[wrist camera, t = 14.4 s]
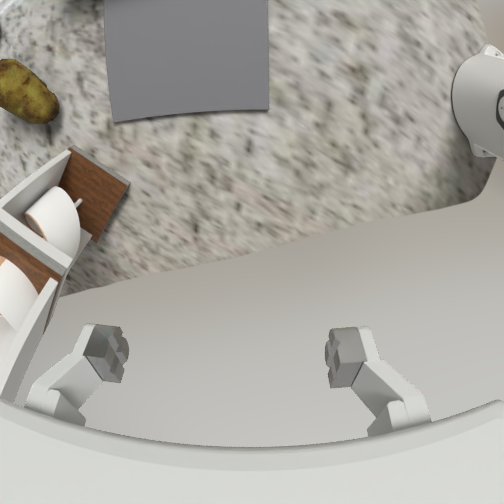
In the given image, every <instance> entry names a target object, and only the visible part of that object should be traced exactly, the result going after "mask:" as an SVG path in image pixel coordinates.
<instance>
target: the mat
mask: <svg viewBox="0 0 504 504" xmlns="http://www.w3.org/2000/svg"><path fill="white" fill-rule="evenodd" d="M104 32H105V49H106V63H107V74H108V84H109V93H110V101H111V109H112V116H113V123H114V122H120V121H126V120H132V119H139V118H146V117H153V116H162V115H170V114H180V113H191V112H205V111H222V110H252V109H269V40H268V0H104Z"/></svg>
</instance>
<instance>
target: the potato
mask: <svg viewBox="0 0 504 504" xmlns="http://www.w3.org/2000/svg"><path fill="white" fill-rule="evenodd" d="M0 107H2V108H4V109H5V110H7V111H9V112H11V113H13V114H15V115H17V116H18V117H20V118H22V119H24V120H26V121H29V122H32V123H36V124H46V123H48V122H49V121H51V120H53V119H54V118H55V117H56V116H57V114H58V113H59V104H58V100H57V97H56V96H55V94H54V93H51V92H50V91H49V90H48V89H47V85H46V84H45V83H44V82H43V81H41V80H40V79H39V78H38V77H37V76H36V75H35V74H34V73H33V72H32V71H31V70H29V69H28V68H27V67H25V66H24V65H22V64H21V63H19V62H18V61H16V60H13V59H1V60H0Z"/></svg>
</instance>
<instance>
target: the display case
mask: <svg viewBox="0 0 504 504" xmlns="http://www.w3.org/2000/svg"><path fill="white" fill-rule="evenodd" d="M130 183H131V182H129V181H128V180H126V179H125V178H123V177H122V176H120V175H119V174H117V173H116V172H114V171H113V170H111V169H110V168H108V167H107V166H105V165H104V164H102V163H101V162H99V161H98V160H96V159H95V158H93V157H92V156H90V155H89V154H87V153H86V152H84V151H83V150H81V149H80V148H78V147H77V146H75V145H73V146H71V147H70V148H68V149H67V150H65V151H64V152H62V153H61V154H59V155H58V156H56V157H55V158H53V159H52V160H51V161H49V162H48V163H46V164H45V165H44V166H42V167H41V168H39V169H38V170H37V171H35V172H34V173H33V174H31V175H30V176H29V177H27V178H26V179H25V180H24V181H22V182H21V183H20V184H19V185H17V186H16V187H15V188H14V189H12V190H11V191H10V192H9V193H8V194H6V195H5V196H4V197H3V198H2V199H0V398H2V399H4V400H7V401H9V402H12V403H13V402H14V400H15V397H16V395H17V392H18V390H19V387H20V385H21V382H22V380H23V378H24V375H25V373H26V370H27V368H28V366H29V364H30V361H31V359H32V357H33V355H34V353H35V351H36V349H37V346H38V344H39V342H40V340H41V338H42V336H43V334H44V332H45V330H46V328H47V326H48V324H49V322H50V320H51V319H52V317H53V314H54V310H55V307H56V305H57V301H58V299H59V296H60V293H61V290H62V287H63V284H64V282H65V279H66V276H67V274H68V272H69V271H70V269H71V267H72V266H73V264H74V263H75V261H76V260H77V258H78V257H79V255H80V254H81V252H82V251H83V249H84V248H85V246H86V245H87V243H88V242H89V240H90V239H92V240H93V241H95V242H96V243H97V241H98V240H99V238H100V237H101V235H102V233H103V231H104V229H105V227H106V225H107V223H108V222H109V220H110V218H111V216H112V214H113V212H114V210H115V209H116V207H117V205H118V203H119V202H120V200H121V198H122V196H123V194H124V193H125V191H126V189H127V188H128V186H129V184H130Z"/></svg>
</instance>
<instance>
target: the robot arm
mask: <svg viewBox="0 0 504 504" xmlns="http://www.w3.org/2000/svg"><path fill="white" fill-rule="evenodd" d="M452 101H453V109H454V113H455V117H456V120H457V122H458V124H459V126H460V128H461V129H462V131H463V132H464V134H465V135H466V136H467V138H468V140H469V143H470V147H471V151H472V153H473V155H475V156H477V157H497V158H499V159H501V160H503V161H504V54H503V53H501V52H500V51H499V50H498V49H496V48H495V47H494V46H491V45H488V44H486V45H485V46H484V47H483V48H482V49H481V51H480V52H479V54H477V55H475V56H473V57H471V58H469V59H467V60H466V61H465V62H464V63H463V64H462V65H461V66H460V68H459V70H458V71H457V74H456V76H455V79H454V84H453V91H452ZM329 339H330V340H328V341H327V342H326V346H325V361H326V365H327V366H328V367H329V368H330V369H329V373H328V378H329V383H330V388H342V387H351V389H352V390H353V391H354V392H355V393H356V394H357V395H358V397H359V398H360V399H361V400H362V401H363V403H364V404H365V405H366V406H367V407H368V408H369V410H370V411H371V412H372V413H373V414H374V415H375V416H376V419H375V421H374V422H373V423H372V424H371V426H370V427H369V428H368V429H367V432H368V437H365V438H359V439H353V440H346V441H338V442H330V443H321V444H311V445H299V446H281V447H219V446H202V445H201V446H200V445H190V444H179V443H170V442H162V441H154V440H148V439H141V438H135V437H130V436H125V435H120V434H115V433H110V432H105V431H101V430H96V429H92V428H88V427H84V426H85V422H86V419H85V417H84V416H83V415H82V414H81V413H80V412H79V411H78V409H79V408H80V407H81V406H82V404H84V403H85V401H86V400H87V399H88V398H89V397H90V396H91V395H92V394H93V392H94V391H95V390H96V389H97V388H98V387H99V386H100V385H101V384H102V383H103V381H108V382H116V383H121V380H122V376H123V373H124V368H123V366H122V365H123V364H124V363H125V362H126V361H127V359H128V355H129V346H128V343H127V340H126V339H125V338H124V337H122V330H121V328H120V327H116V326H107V325H99V324H90V323H87V324H86V325H84V327H83V329H82V331H81V334H80V336H79V338H78V341H77V343H76V345H75V348H74V350H73V352H72V354H68V355H67V356H65V357H64V358H63V359H62V360H61V361H59V362H58V363H57V364H56V365H54V366H53V367H52V368H51V369H50V370H49V371H47V372H46V373H45V374H44V375H42V376H41V377H40V378H39V379H38V380H36V381H35V382H34V383H33V385H32V388H31V390H30V393H29V395H28V398H27V401H26V404H25V406H24V407H22V406H19V405H17V404H14V403H12V402H9V401H7V400H4V399H2V398H0V504H504V402H503V401H501V400H494V401H491V402H489V403H486V404H484V405H481V406H479V407H476V408H473V409H471V410H468V411H465V412H463V413H459V414H456V415H453V416H451V417H448V418H444V419H441V420H437V421H434V422H432V421H431V418H430V414H429V411H428V408H427V404H426V401H425V398H424V395H423V394H422V393H421V392H420V391H419V390H418V389H417V388H416V387H414V386H413V385H412V384H411V383H410V382H409V381H408V380H407V379H405V378H404V377H403V376H402V375H401V374H400V373H398V372H397V371H396V370H395V369H394V368H393V367H392V366H391V365H389V364H388V363H387V362H386V361H385V360H380V357H379V354H378V350H377V347H376V345H375V341H374V338H373V335H372V332H371V329H370V327H368V326H363V327H347V328H335V329H331V330H330V332H329Z"/></svg>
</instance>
